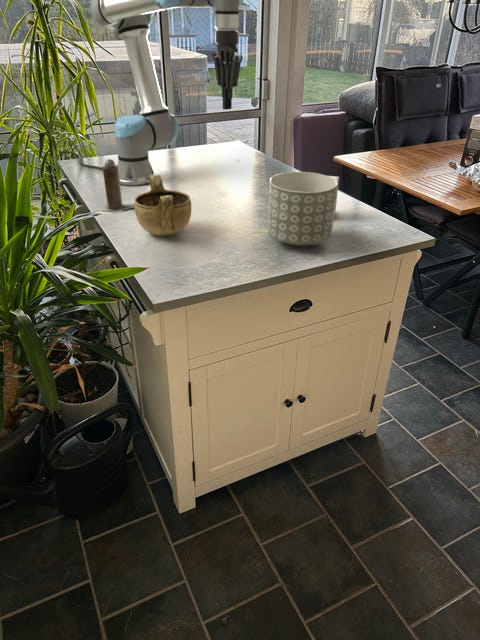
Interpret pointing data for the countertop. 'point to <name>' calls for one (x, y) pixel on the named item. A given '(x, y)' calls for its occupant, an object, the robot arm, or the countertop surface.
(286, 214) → the planter
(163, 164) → the countertop surface
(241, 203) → the countertop surface
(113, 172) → the pepper mill
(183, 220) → the ceramic bowl
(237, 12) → the robot arm
